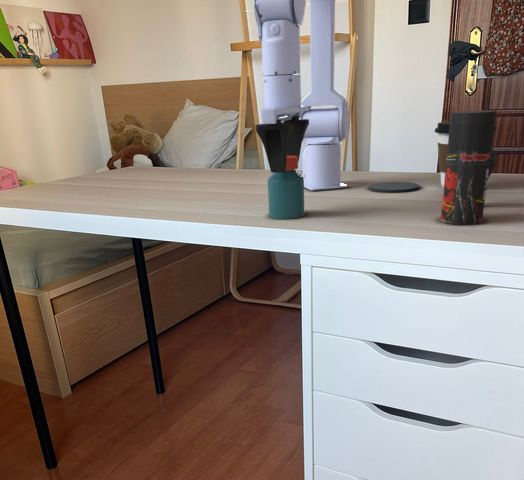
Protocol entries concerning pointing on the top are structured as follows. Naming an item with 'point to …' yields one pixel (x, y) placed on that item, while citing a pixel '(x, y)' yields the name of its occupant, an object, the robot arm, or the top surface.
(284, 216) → the bottle
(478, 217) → the deodorant
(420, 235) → the top surface
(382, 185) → the coaster
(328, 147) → the robot arm
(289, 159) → the cap
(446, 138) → the coffee cup
